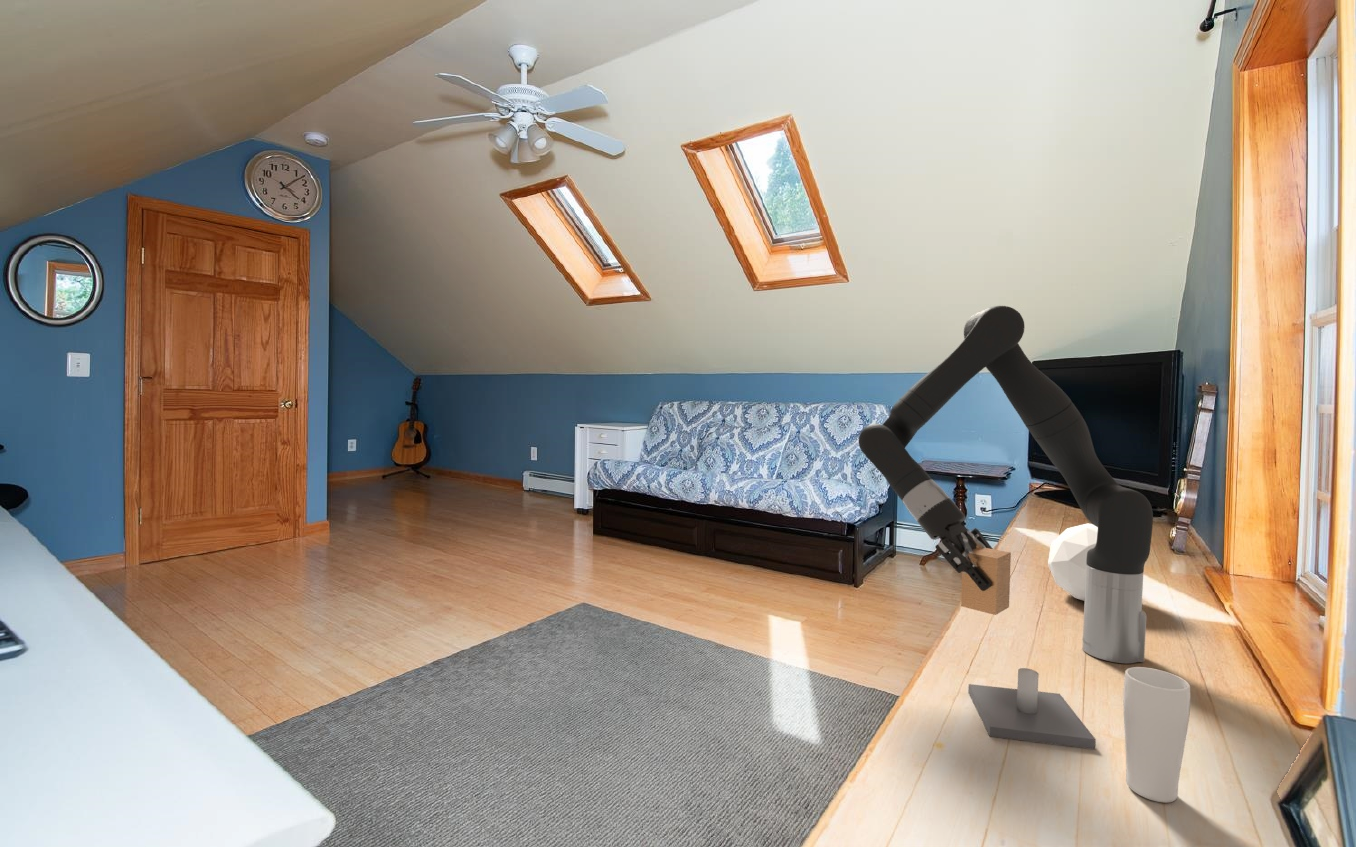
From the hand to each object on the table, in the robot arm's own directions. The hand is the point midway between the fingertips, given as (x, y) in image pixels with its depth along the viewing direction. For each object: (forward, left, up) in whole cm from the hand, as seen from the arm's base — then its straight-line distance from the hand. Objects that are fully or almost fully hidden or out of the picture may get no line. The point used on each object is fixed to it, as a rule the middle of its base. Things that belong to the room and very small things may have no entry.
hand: (995, 584), depth 112 cm
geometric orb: (-36, -52, -17) cm, 65 cm away
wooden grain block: (+1, -1, -4) cm, 5 cm away
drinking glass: (-12, +30, -17) cm, 37 cm away
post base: (-2, +14, -17) cm, 22 cm away
